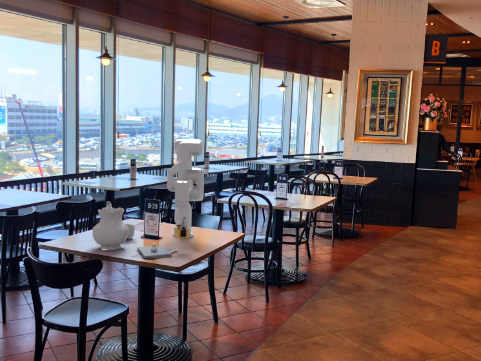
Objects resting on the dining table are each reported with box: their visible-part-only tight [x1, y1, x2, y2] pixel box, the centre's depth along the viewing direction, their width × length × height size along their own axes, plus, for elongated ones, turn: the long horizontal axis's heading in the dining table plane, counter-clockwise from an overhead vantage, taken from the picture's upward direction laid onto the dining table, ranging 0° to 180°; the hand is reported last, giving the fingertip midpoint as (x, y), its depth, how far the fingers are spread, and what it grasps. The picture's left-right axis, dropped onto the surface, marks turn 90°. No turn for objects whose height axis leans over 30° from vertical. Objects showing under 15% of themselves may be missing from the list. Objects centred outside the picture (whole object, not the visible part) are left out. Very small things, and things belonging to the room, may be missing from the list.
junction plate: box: [136, 243, 172, 259], centre depth 251 cm, size 18×14×5 cm
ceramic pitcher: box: [92, 201, 129, 251], centre depth 259 cm, size 22×20×25 cm
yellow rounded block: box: [173, 226, 190, 240], centre depth 257 cm, size 6×6×5 cm
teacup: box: [124, 223, 136, 241], centre depth 279 cm, size 14×11×8 cm
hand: (181, 235), depth 257 cm, fingers closed on yellow rounded block, 6 cm apart
